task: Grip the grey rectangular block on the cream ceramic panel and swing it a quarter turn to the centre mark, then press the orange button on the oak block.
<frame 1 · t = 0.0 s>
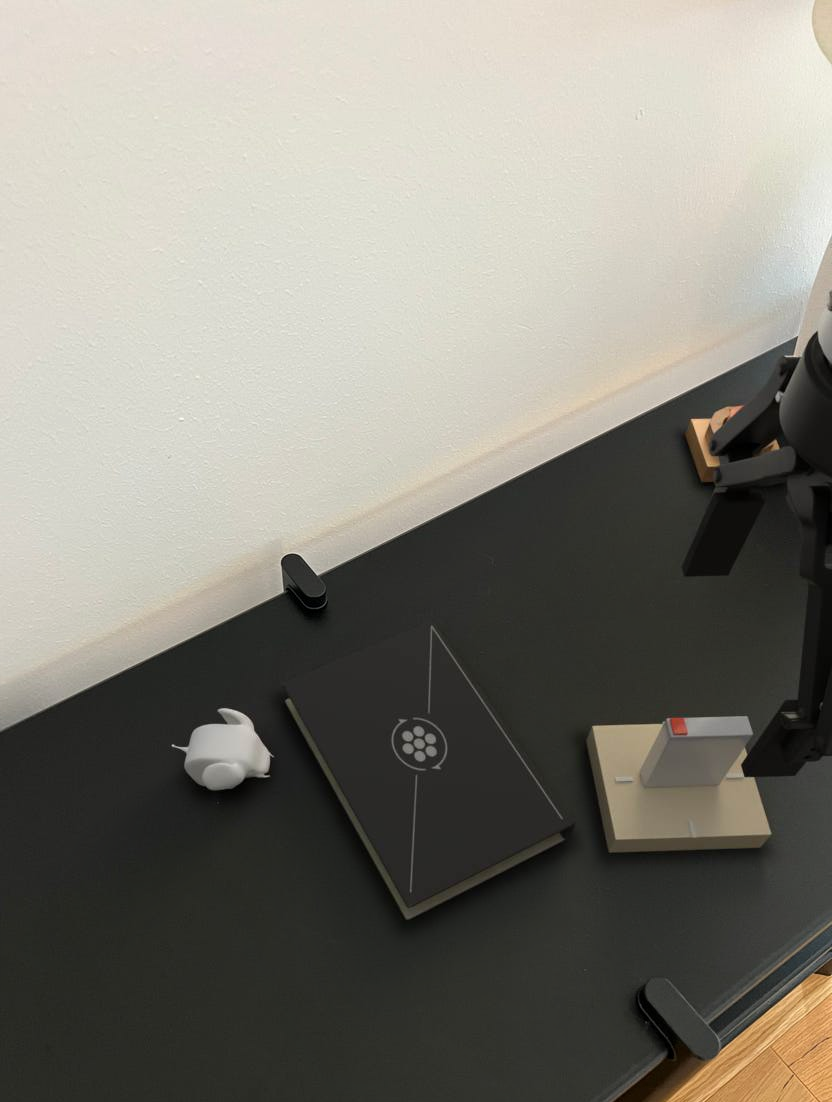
hand: (733, 664, 56), 26 cm above the sideboard top, tool pointing down, fingers open, 13 cm apart
button: (745, 424, 98), point 5 cm above the sideboard top, slide at 0.2 cm
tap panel: (670, 792, 80), on the sideboard top
button block: (731, 457, 102), on the sideboard top
book: (421, 768, 81), on the sideboard top
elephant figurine: (226, 774, 80), on the sideboard top
grey rectangular block: (694, 752, 74), point 7 cm above the sideboard top, hinge at 0.0°
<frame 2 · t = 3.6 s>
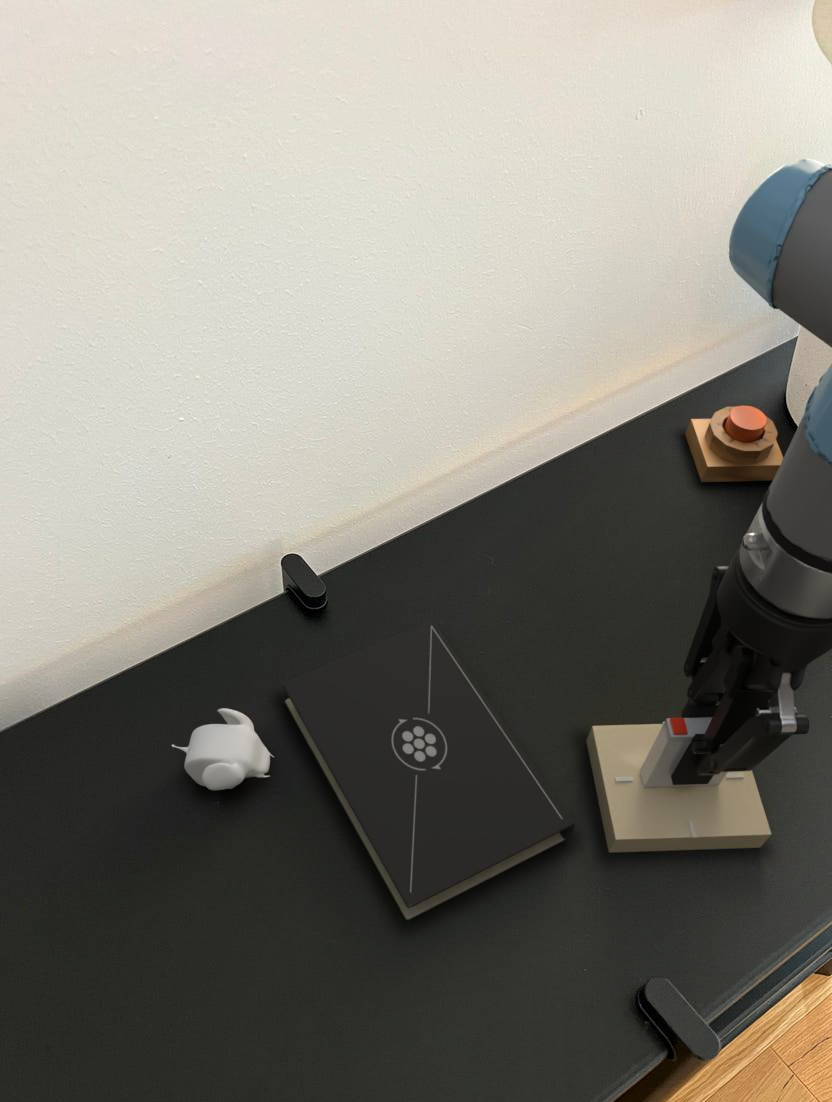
hand: (685, 766, 76), 4 cm above the sideboard top, tool pointing down, fingers closed on grey rectangular block, 2 cm apart
grey rectangular block: (694, 752, 74), point 7 cm above the sideboard top, hinge at 0.0°, touching gripper
everything else where it was.
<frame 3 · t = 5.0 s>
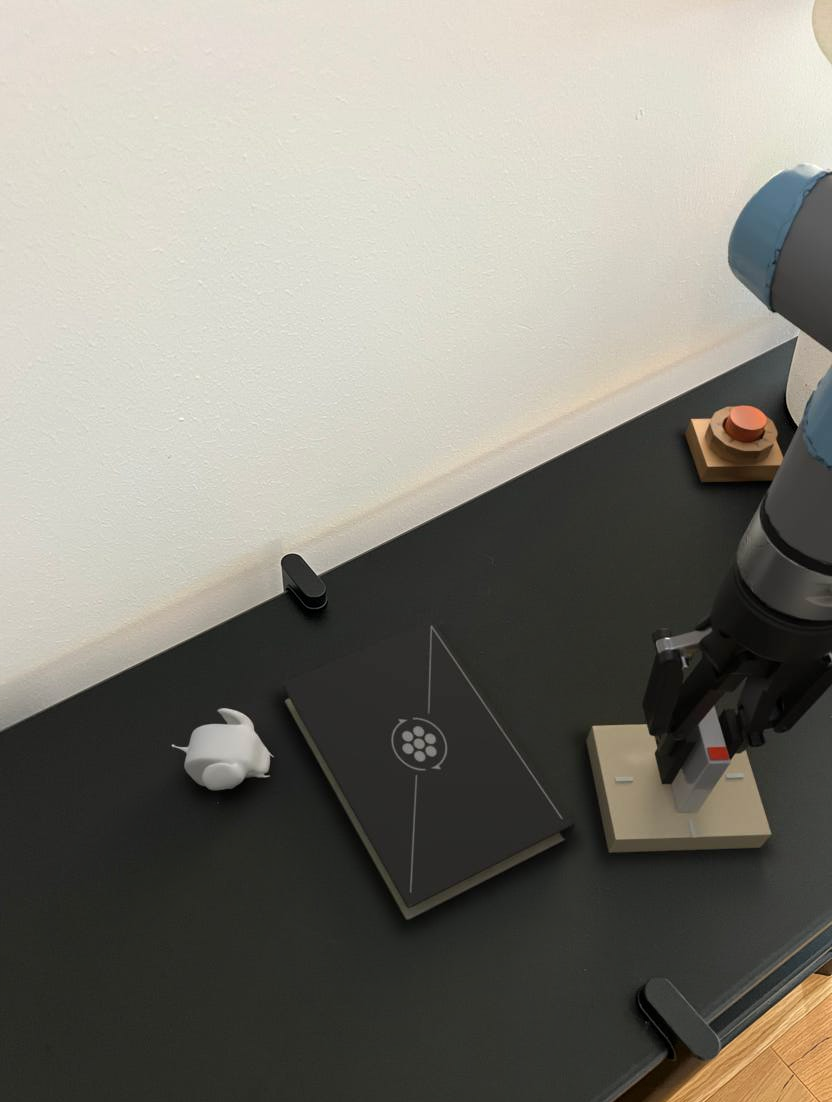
hand: (685, 767, 76), 4 cm above the sideboard top, tool pointing down, fingers open, 3 cm apart
grey rectangular block: (694, 752, 74), point 7 cm above the sideboard top, hinge at 89.6°
everything else where it was.
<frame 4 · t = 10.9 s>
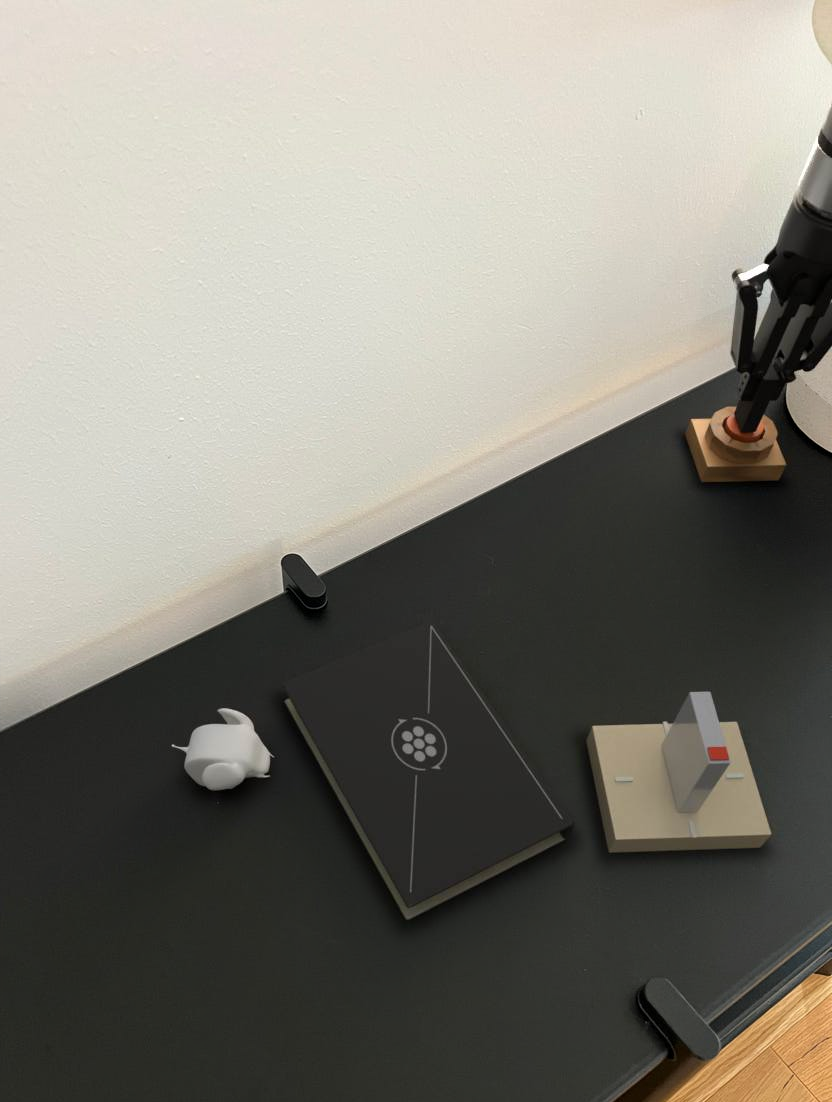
hand: (744, 422, 98), 5 cm above the sideboard top, tool pointing down, fingers closed
button: (742, 431, 99), point 4 cm above the sideboard top, slide at -0.8 cm, touching gripper
everything else where it was.
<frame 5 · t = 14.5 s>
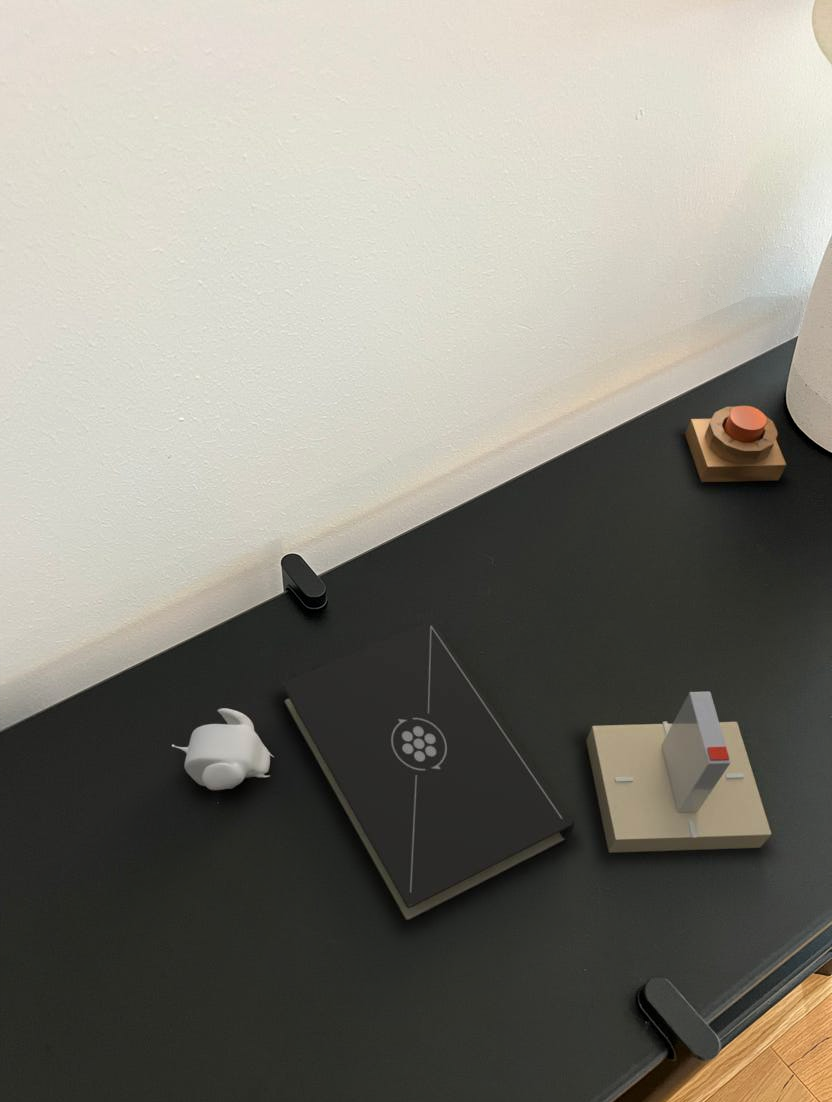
button: (745, 424, 98), point 5 cm above the sideboard top, slide at 0.1 cm
everything else where it was.
at the end: grey rectangular block at +90° (first picture: +0°); button pushed in 1.0 cm at the most during the clip, back to where it started at the end; button slide at 0.1 cm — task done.
